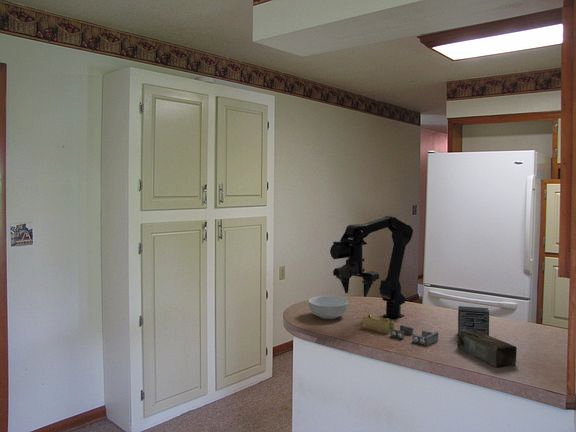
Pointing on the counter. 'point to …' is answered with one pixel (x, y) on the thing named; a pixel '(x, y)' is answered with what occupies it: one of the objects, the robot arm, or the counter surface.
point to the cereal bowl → (328, 306)
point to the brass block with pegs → (378, 323)
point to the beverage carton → (487, 348)
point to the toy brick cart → (425, 339)
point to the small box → (473, 319)
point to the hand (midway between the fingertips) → (355, 295)
